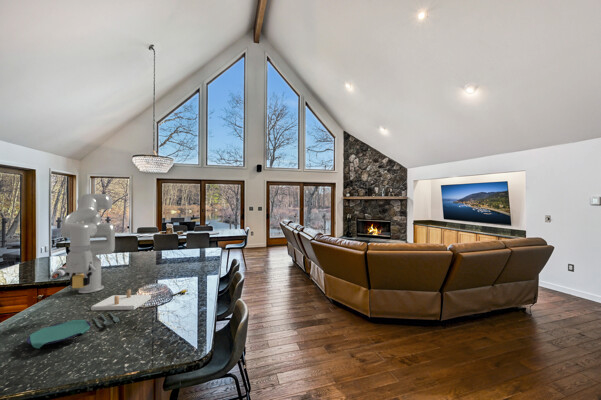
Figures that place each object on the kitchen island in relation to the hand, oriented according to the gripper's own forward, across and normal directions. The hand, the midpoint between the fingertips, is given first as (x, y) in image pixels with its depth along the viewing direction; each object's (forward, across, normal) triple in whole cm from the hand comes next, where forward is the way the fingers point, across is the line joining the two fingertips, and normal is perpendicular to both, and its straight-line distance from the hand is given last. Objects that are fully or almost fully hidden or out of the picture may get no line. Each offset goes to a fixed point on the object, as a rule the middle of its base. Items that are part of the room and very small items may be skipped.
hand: (80, 284), depth 127 cm
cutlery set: (+16, +11, -16) cm, 25 cm away
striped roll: (+9, -74, +73) cm, 105 cm away
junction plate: (+15, +12, +13) cm, 24 cm away
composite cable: (+16, +37, +28) cm, 49 cm away
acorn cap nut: (+1, 0, 0) cm, 1 cm away
